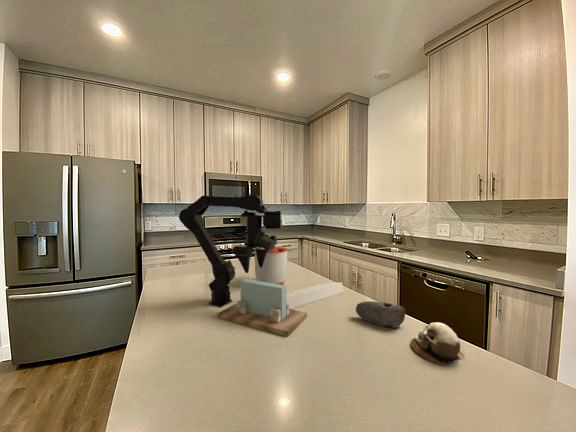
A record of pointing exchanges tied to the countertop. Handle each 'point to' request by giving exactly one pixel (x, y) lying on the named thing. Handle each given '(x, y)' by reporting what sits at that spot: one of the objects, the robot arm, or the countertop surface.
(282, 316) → the door
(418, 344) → the skull
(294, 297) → the decorative molding
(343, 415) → the countertop surface
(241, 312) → the wooden pegged board
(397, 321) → the perforated stone tool
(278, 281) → the citrus juicer
